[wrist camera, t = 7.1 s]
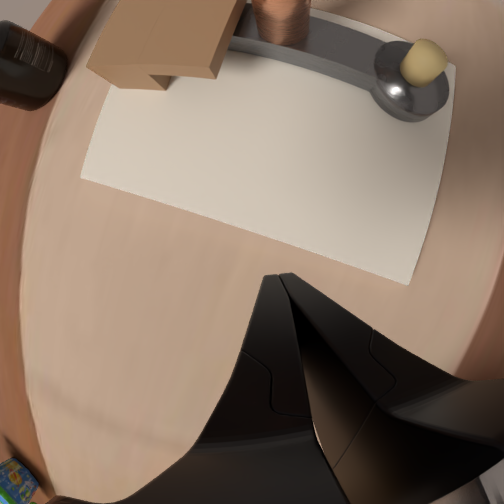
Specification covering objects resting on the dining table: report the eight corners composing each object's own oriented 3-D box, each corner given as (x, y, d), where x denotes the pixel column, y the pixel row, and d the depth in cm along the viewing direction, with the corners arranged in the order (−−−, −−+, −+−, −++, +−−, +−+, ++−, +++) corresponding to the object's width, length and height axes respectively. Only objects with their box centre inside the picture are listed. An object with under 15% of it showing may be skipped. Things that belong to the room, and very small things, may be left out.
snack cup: (-7, 432, 29) (-37, 455, 19) (23, 453, 28) (-9, 482, 17) (27, 484, 31) (4, 507, 21) (59, 504, 29) (36, 532, 19)
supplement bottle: (45, 48, 18) (-31, 10, 7) (81, 52, 18) (-8, -1, 6) (15, 107, 20) (-70, 85, 8) (46, 119, 19) (-57, 91, 7)
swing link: (440, 76, 14) (518, 4, 4) (429, 135, 15) (531, 80, 5) (214, 4, 15) (169, -91, 5) (185, 55, 16) (114, -37, 6)
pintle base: (450, 71, 15) (488, 37, 9) (402, 282, 17) (444, 310, 11) (164, 0, 17) (135, -40, 11) (87, 178, 19) (32, 171, 13)
